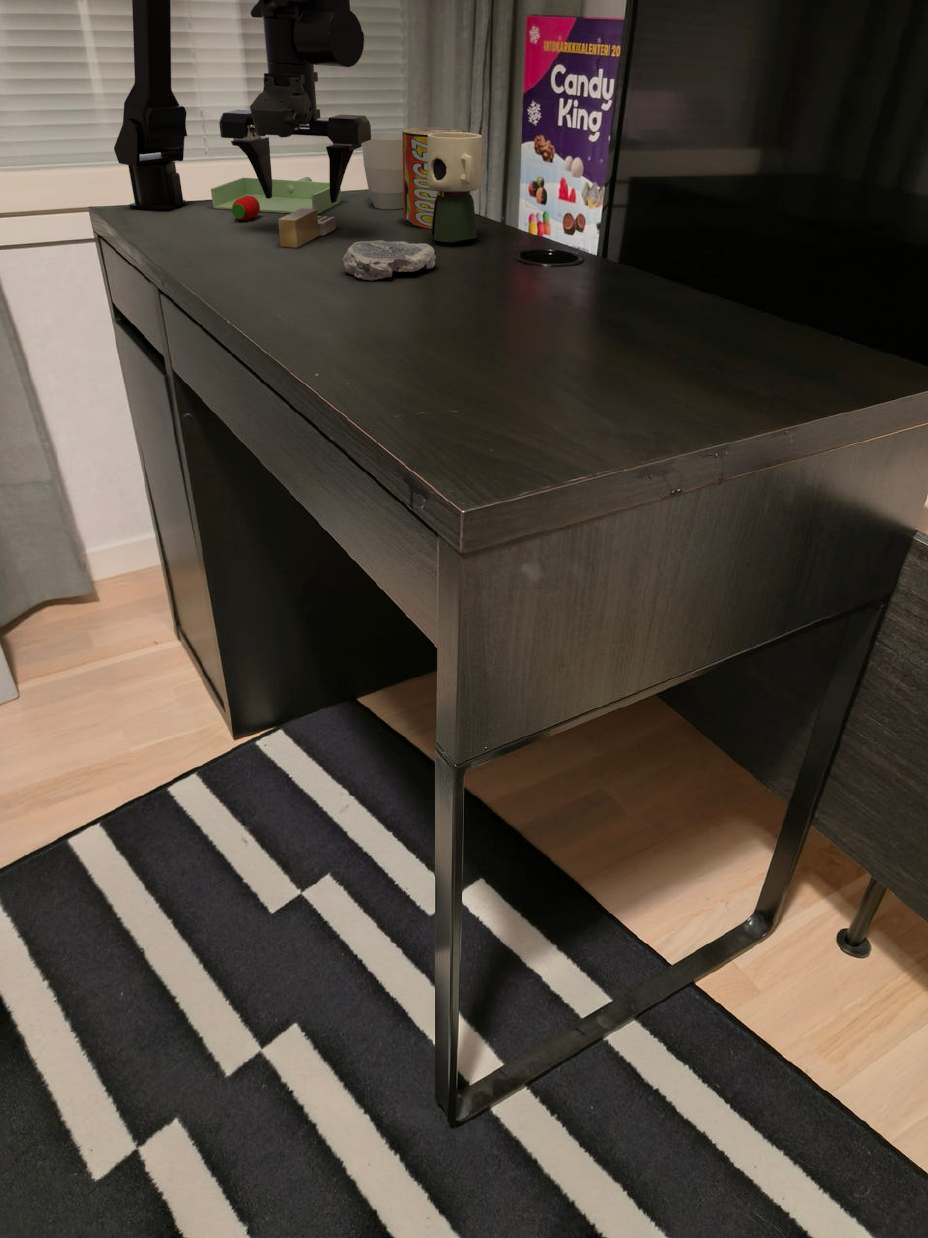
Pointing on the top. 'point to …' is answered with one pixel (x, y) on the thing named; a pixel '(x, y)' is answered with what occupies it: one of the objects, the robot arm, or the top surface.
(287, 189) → the tray
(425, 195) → the beverage can
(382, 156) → the cup
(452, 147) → the character mug
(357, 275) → the fossil
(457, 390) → the top surface
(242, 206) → the strawberry
